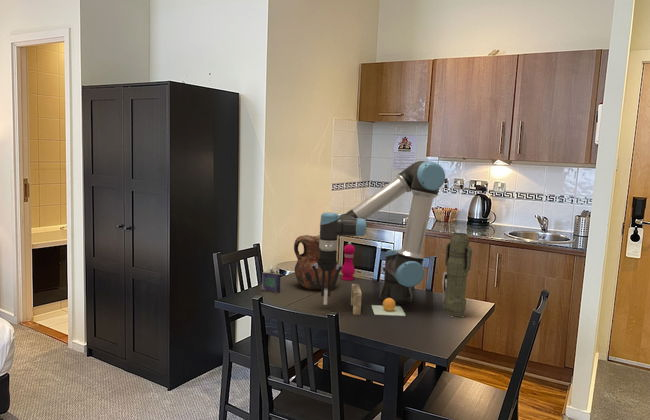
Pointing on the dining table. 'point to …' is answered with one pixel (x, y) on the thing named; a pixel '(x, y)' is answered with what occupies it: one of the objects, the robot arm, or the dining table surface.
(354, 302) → the bridge
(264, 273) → the flask
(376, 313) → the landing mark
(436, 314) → the dining table surface
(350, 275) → the pepper mill
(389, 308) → the ball
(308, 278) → the jug
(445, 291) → the beer glass
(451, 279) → the olive brown statue
